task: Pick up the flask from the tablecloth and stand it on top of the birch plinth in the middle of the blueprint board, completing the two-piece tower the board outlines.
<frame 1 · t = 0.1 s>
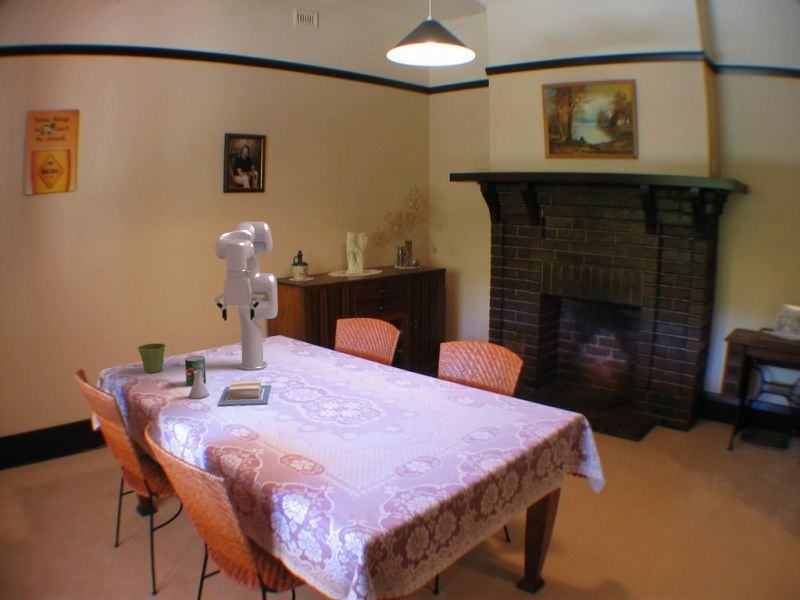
hand: (238, 319, 244), 31 cm above the table, tool pointing down, fingers open, 9 cm apart
blueprint board: (245, 396, 253), on the table
flask: (199, 396, 252), on the table
plant pot: (153, 371, 286), on the table
birch plinth: (245, 389, 252), on the blueprint board, point 3 cm above the table
canned tomato: (196, 384, 268), on the table
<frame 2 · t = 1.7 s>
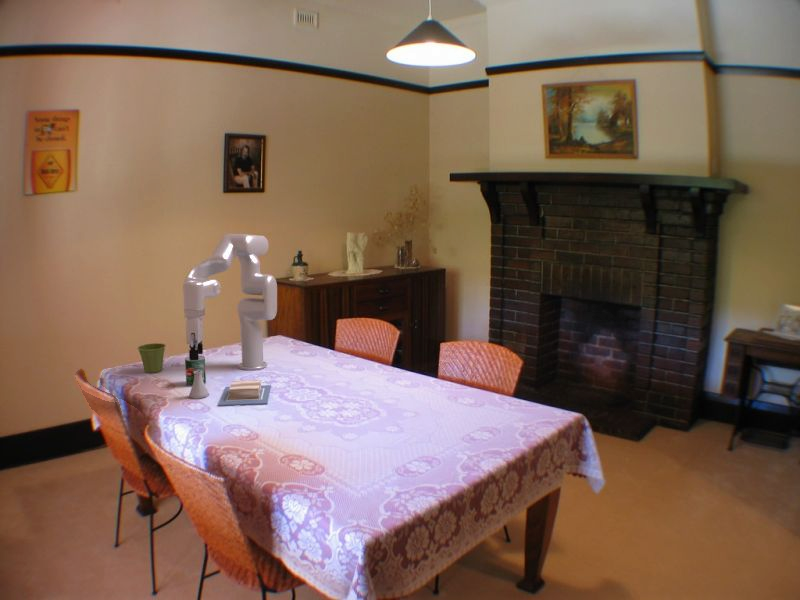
hand: (196, 356, 249), 16 cm above the table, tool pointing down, fingers open, 9 cm apart
nothing on the table moved.
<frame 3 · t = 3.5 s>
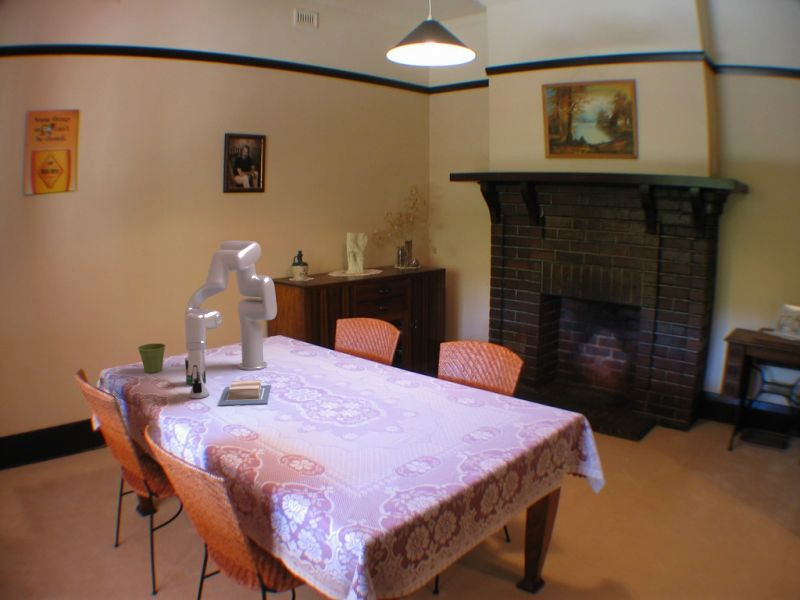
hand: (198, 390, 252), 3 cm above the table, tool pointing down, fingers closed on flask, 5 cm apart
flask: (199, 396, 252), on the table, touching gripper
everything else where it was.
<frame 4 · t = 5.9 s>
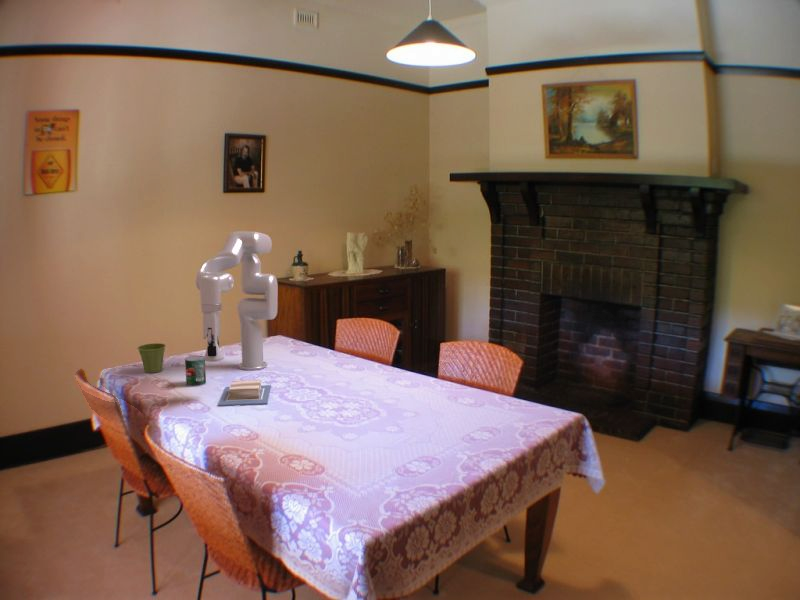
hand: (213, 353, 250), 17 cm above the table, tool pointing down, fingers closed on flask, 5 cm apart
flask: (213, 360, 250), point 14 cm above the table, touching gripper
everything else where it was.
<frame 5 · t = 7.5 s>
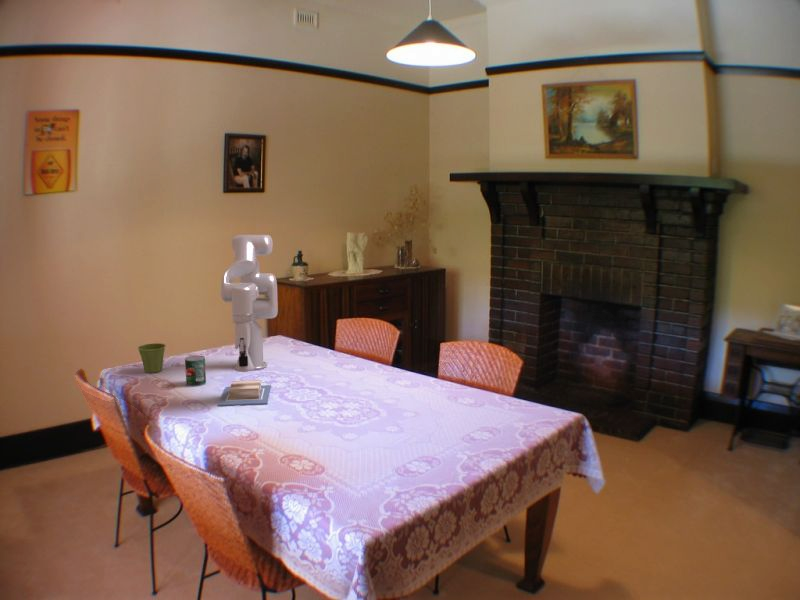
hand: (244, 363, 250), 13 cm above the table, tool pointing down, fingers closed on flask, 5 cm apart
flask: (244, 370, 251), point 10 cm above the table, touching gripper
everything else where it was.
when the fingers open (8 cm above the table, at t = 8.7 s): flask stays where it is, resting on birch plinth.
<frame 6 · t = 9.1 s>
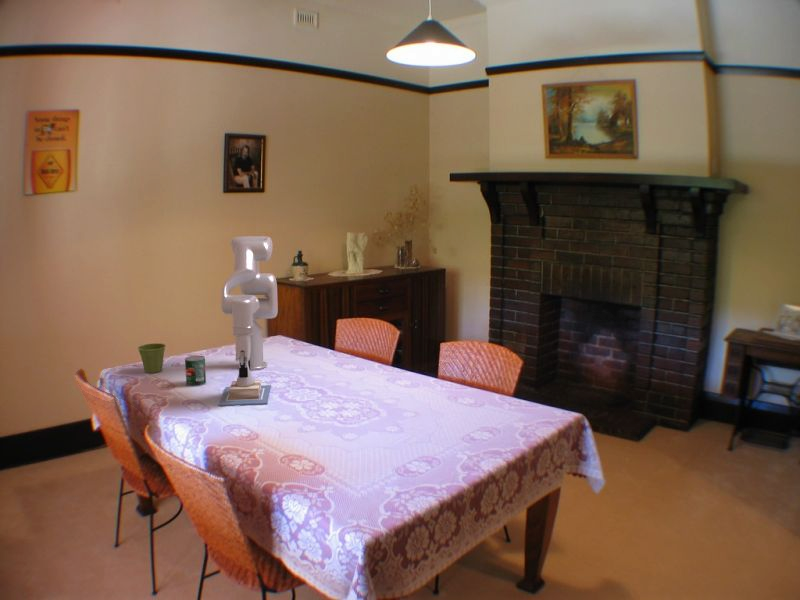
hand: (244, 373, 251), 9 cm above the table, tool pointing down, fingers open, 9 cm apart
flask: (245, 385, 252), point 4 cm above the table, touching birch plinth
everything else where it was.
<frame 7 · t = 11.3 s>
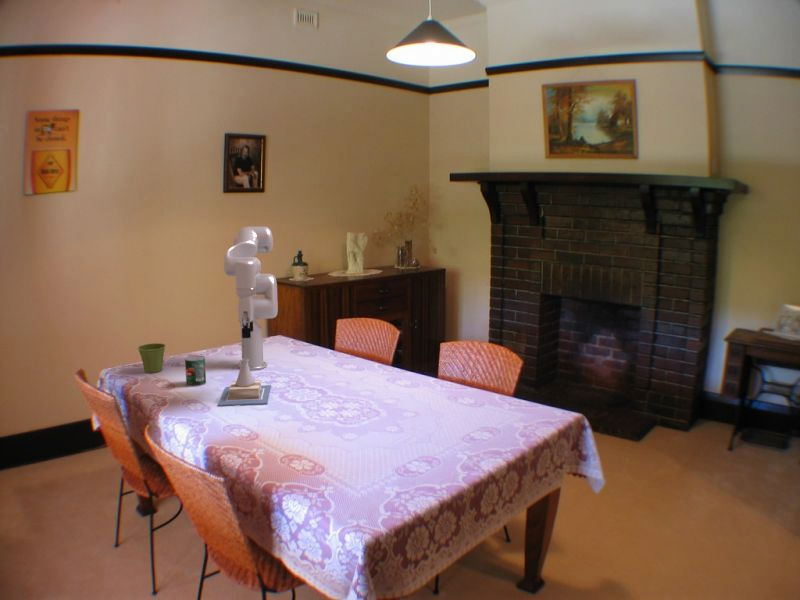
hand: (247, 334, 254), 23 cm above the table, tool pointing down, fingers open, 9 cm apart
nothing on the table moved.
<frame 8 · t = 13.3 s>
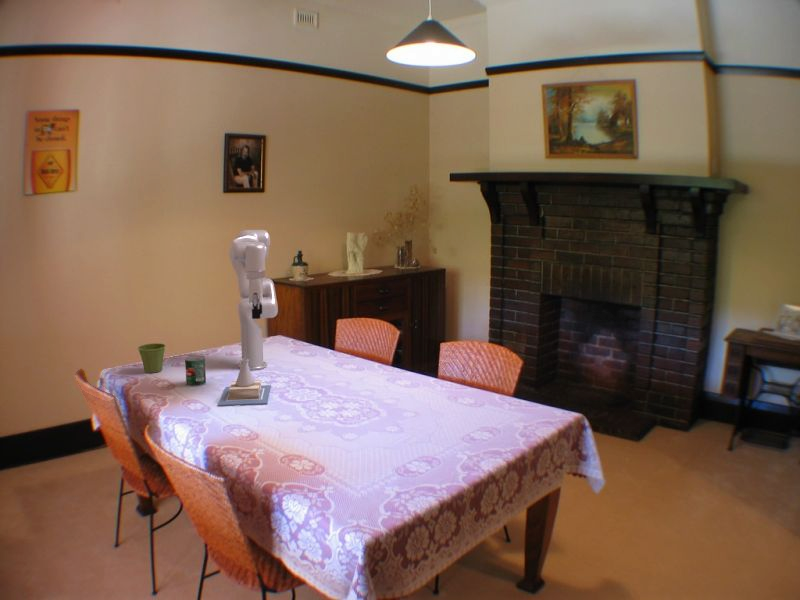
hand: (257, 316, 265), 28 cm above the table, tool pointing down, fingers open, 9 cm apart
nothing on the table moved.
at the end: flask 0.2 cm off-centre on the birch plinth, point 4.4 cm above the birch plinth's base; flask tilted 0°; the gripper is holding nothing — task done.
